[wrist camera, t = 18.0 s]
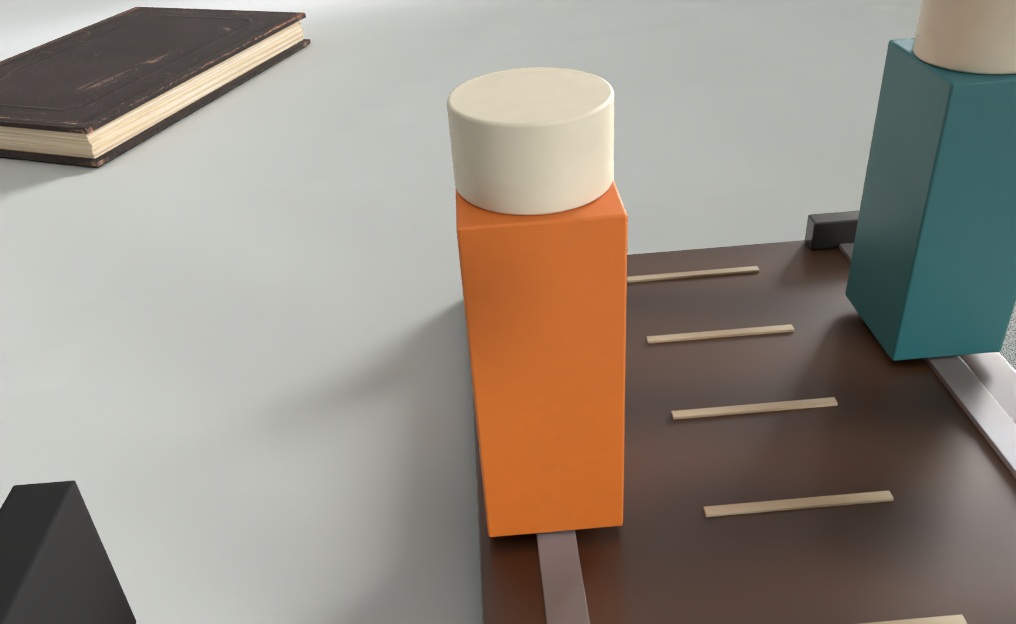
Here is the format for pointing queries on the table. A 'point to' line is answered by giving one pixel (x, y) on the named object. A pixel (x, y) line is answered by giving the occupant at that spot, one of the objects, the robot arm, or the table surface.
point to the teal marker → (942, 187)
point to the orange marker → (543, 294)
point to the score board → (781, 462)
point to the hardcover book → (132, 78)
